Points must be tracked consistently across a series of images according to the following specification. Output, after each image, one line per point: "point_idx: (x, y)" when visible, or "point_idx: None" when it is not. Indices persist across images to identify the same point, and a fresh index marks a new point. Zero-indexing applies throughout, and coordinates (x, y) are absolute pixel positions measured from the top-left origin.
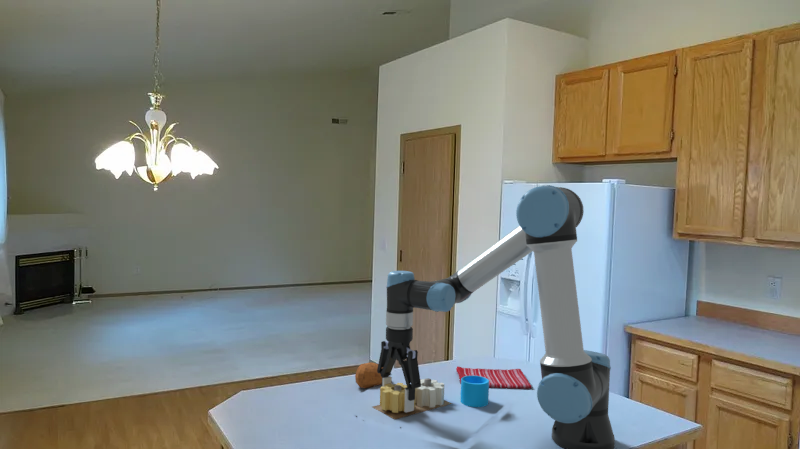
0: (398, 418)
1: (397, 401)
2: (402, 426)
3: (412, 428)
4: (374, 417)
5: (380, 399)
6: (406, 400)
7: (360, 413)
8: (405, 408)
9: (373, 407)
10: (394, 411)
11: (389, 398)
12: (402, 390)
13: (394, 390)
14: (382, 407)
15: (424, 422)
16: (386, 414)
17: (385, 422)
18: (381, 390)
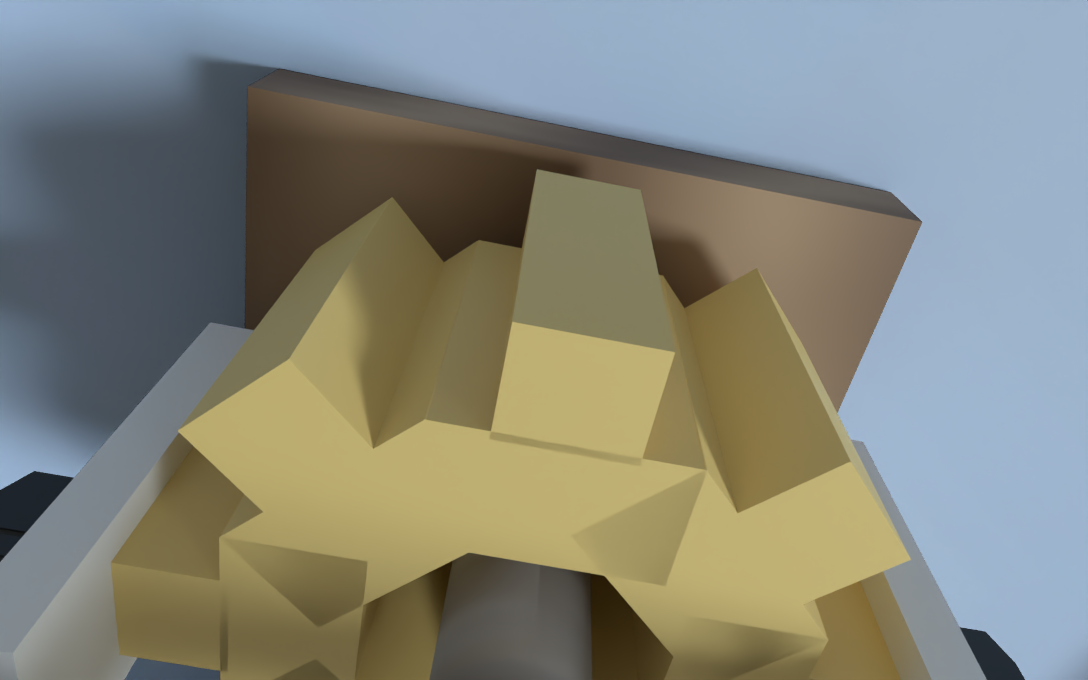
0: (248, 163)
1: (254, 335)
2: (172, 115)
3: (38, 163)
4: (715, 65)
5: (771, 324)
6: (108, 444)
7: (1018, 19)
8: (204, 357)
9: (873, 219)
10: (355, 223)
11: (492, 343)
12: (347, 651)
13: (546, 594)
14: (617, 194)
15: (126, 406)
16: (498, 147)
17: (448, 41)
18: (803, 442)
